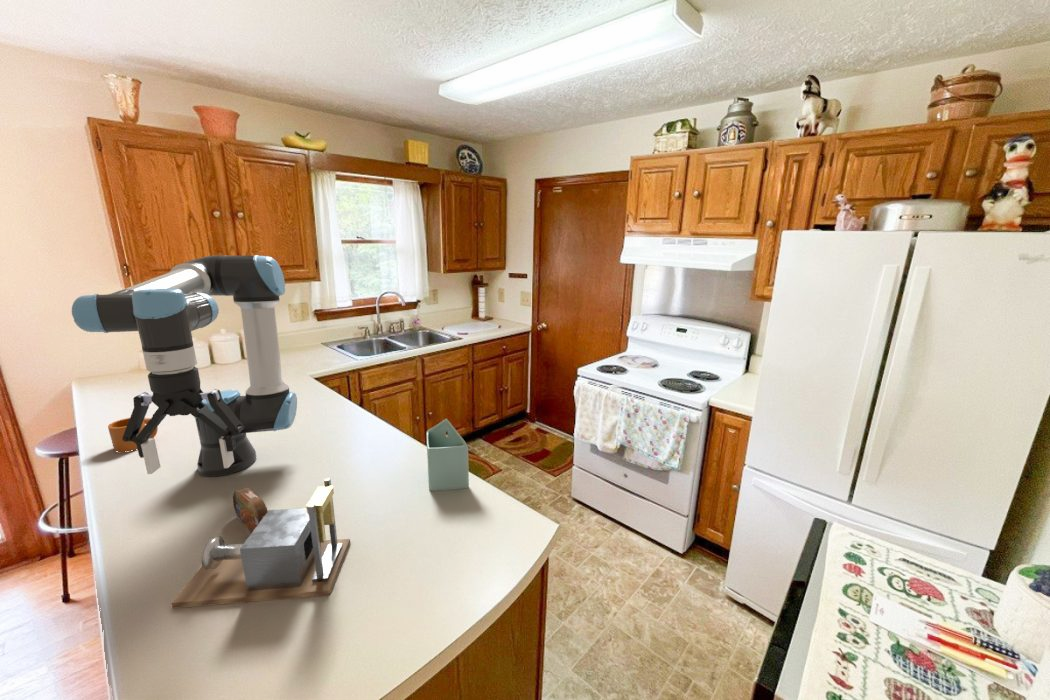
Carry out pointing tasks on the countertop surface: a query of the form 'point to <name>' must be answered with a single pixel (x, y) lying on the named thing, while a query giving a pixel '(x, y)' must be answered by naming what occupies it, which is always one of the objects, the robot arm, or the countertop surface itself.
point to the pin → (219, 552)
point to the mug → (118, 431)
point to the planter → (446, 458)
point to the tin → (249, 508)
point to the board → (232, 588)
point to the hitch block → (287, 549)
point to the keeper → (323, 508)
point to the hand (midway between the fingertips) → (192, 467)
